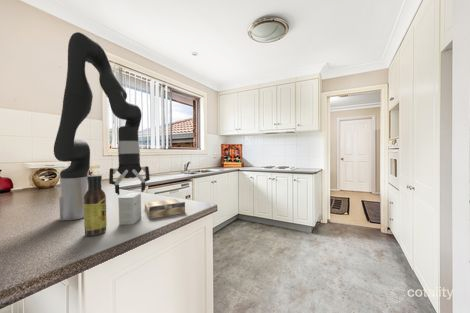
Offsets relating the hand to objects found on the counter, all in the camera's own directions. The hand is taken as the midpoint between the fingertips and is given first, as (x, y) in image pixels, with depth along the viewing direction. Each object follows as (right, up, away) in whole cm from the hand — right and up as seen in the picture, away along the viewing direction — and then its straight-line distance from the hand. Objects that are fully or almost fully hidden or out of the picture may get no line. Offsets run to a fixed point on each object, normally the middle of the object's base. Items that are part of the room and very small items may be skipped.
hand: (130, 193), depth 80 cm
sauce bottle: (-6, -12, -11) cm, 18 cm away
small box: (0, -12, 0) cm, 12 cm away
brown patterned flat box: (+9, -11, +14) cm, 20 cm away
